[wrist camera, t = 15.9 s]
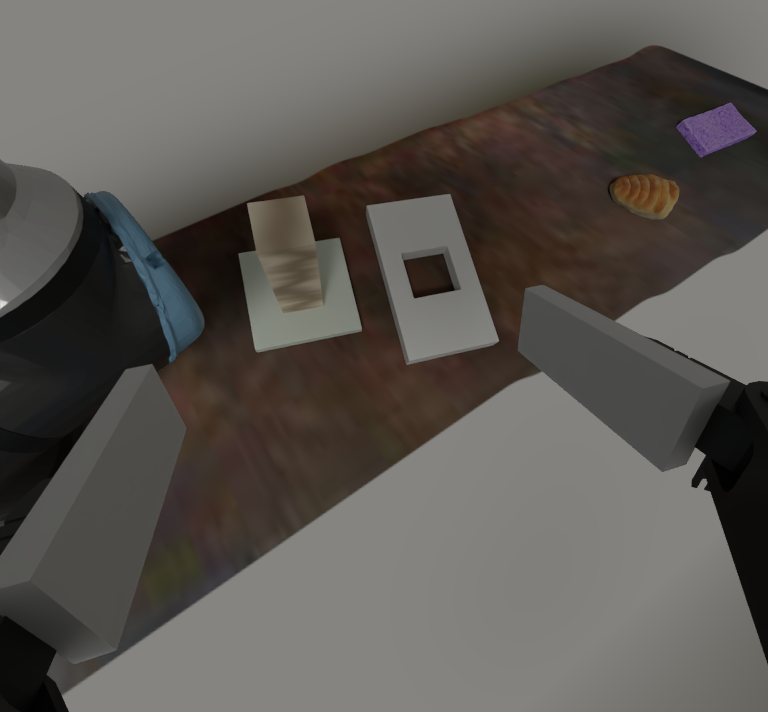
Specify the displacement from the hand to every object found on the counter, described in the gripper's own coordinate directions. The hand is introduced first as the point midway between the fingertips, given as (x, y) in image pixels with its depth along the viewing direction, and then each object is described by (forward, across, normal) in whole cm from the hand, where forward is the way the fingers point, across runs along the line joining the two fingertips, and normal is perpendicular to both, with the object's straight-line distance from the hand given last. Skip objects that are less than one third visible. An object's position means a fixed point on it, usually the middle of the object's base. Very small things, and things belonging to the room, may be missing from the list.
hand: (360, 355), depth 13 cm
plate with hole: (+33, +15, -10) cm, 37 cm away
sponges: (+45, +73, +1) cm, 86 cm away
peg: (+33, -2, -9) cm, 34 cm away
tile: (+33, -2, -10) cm, 35 cm away
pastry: (+37, +52, -6) cm, 64 cm away
